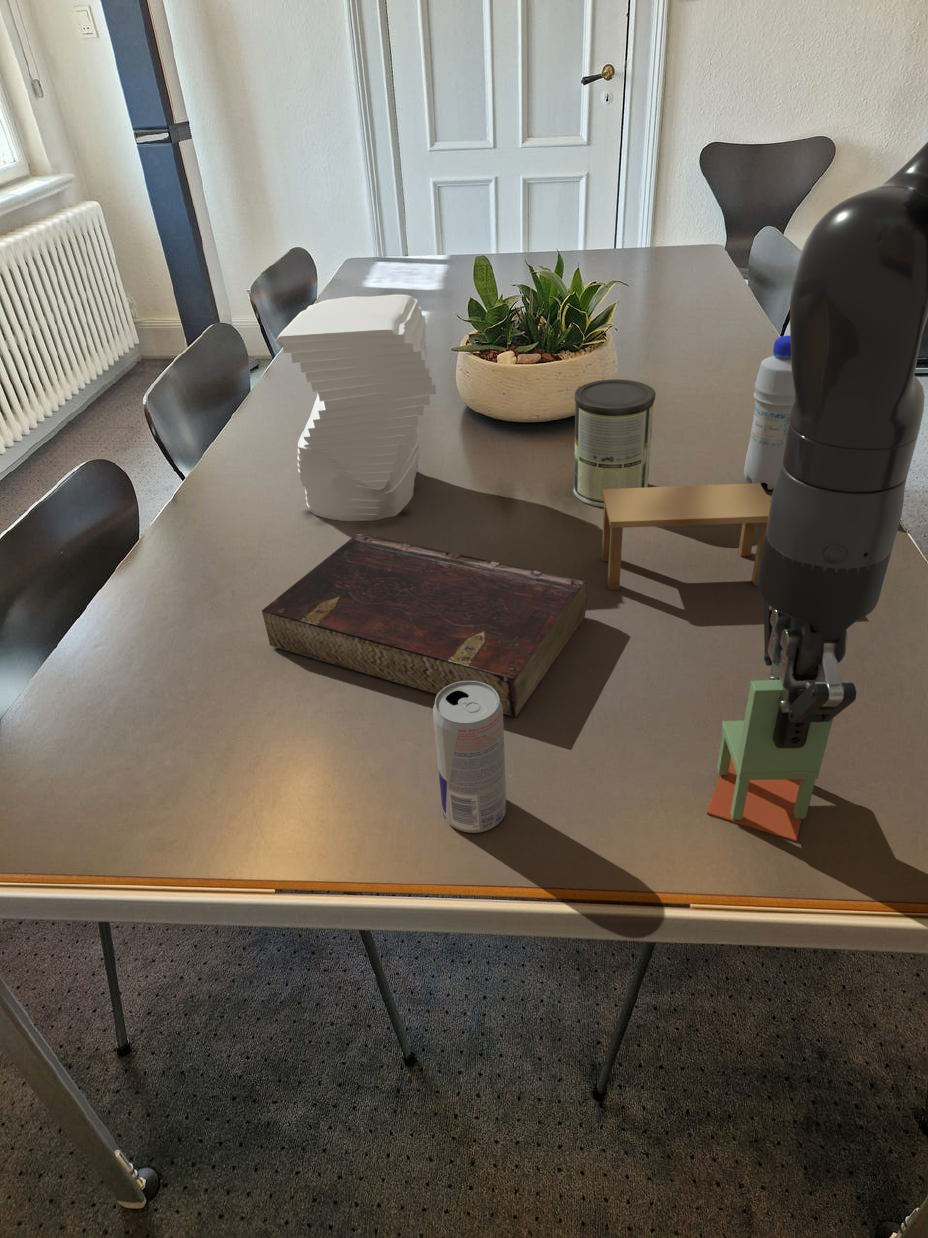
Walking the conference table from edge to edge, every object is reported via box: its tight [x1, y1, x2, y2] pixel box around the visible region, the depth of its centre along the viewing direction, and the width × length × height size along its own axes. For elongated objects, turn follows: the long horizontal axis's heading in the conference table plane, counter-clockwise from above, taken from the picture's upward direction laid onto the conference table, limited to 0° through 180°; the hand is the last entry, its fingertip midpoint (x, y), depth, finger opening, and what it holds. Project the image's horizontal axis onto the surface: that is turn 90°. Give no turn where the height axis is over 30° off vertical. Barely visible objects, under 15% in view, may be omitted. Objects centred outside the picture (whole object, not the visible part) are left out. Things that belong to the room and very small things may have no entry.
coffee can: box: [573, 378, 656, 508], centre depth 114 cm, size 10×10×14 cm
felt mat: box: [706, 758, 803, 842], centre depth 70 cm, size 7×7×1 cm
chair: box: [716, 679, 834, 820], centre depth 67 cm, size 6×6×14 cm
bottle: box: [743, 335, 795, 491], centre depth 111 cm, size 7×7×20 cm
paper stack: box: [274, 293, 437, 522], centre depth 115 cm, size 21×27×26 cm
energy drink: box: [432, 681, 507, 834], centre depth 68 cm, size 5×5×12 cm
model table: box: [601, 483, 771, 591], centre depth 97 cm, size 18×8×9 cm, turn 89°
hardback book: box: [261, 532, 588, 718], centre depth 91 cm, size 29×19×5 cm, turn 63°
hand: (784, 735), depth 64 cm, fingers closed
